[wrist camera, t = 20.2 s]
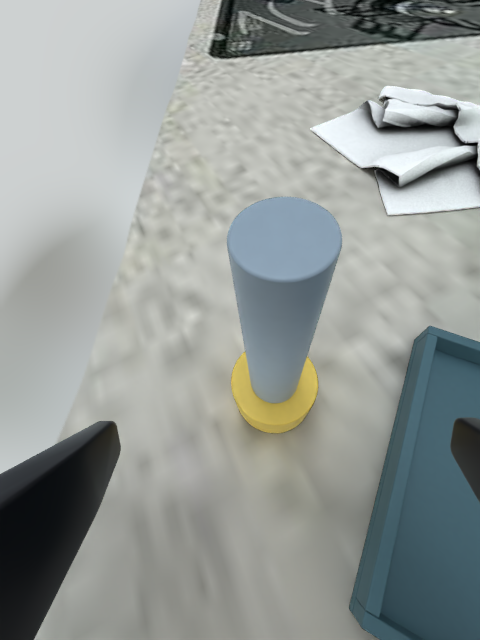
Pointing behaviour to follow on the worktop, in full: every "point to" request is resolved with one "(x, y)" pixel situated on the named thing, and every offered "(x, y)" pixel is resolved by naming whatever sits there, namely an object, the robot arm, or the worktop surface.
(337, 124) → the cloth
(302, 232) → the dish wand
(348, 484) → the worktop surface
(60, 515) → the robot arm
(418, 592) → the tray
